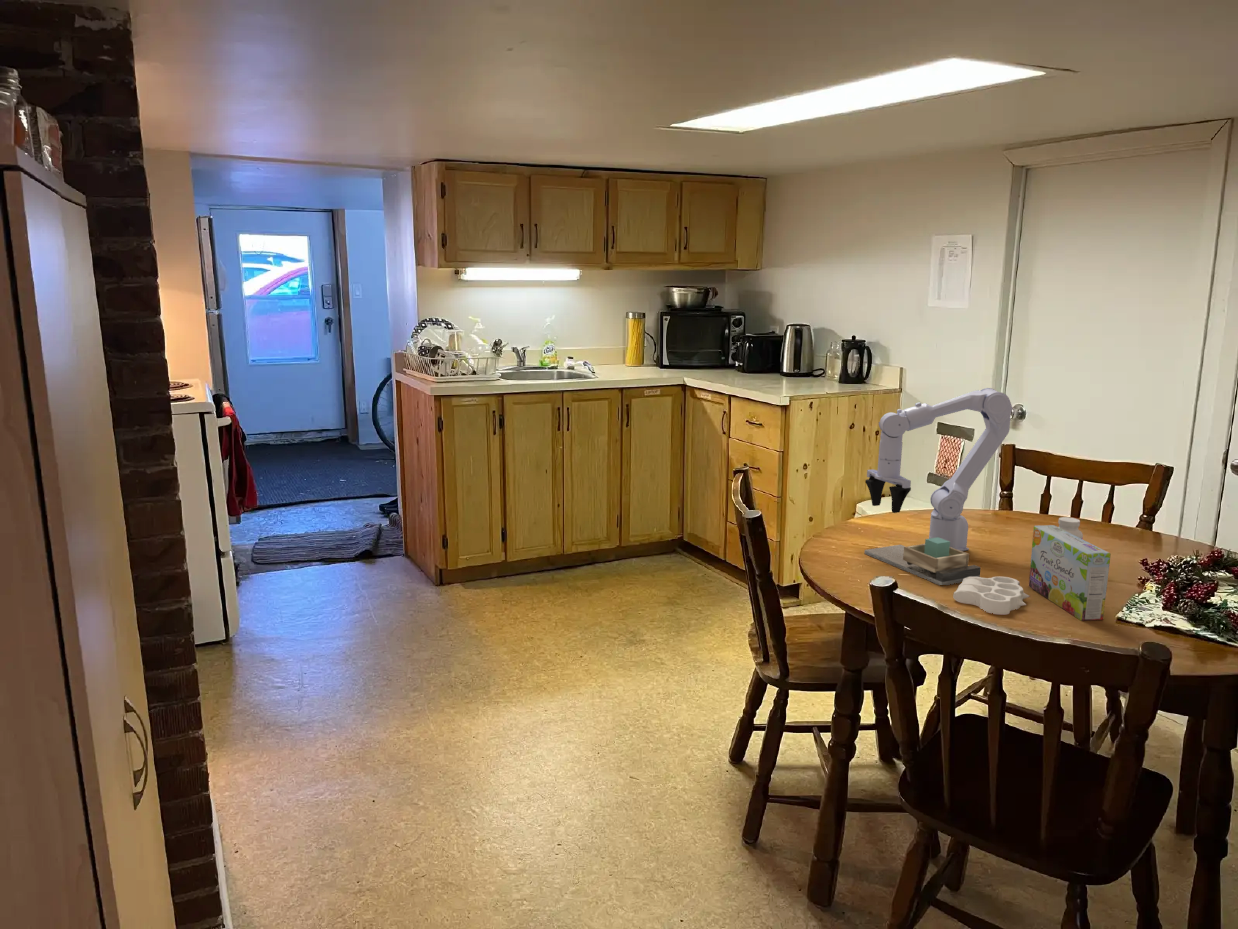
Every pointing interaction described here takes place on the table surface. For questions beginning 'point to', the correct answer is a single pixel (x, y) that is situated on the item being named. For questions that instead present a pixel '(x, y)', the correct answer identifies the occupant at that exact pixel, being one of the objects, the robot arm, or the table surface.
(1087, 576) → the snack box
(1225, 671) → the table surface
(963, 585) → the white paw tray
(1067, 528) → the supplement bottle
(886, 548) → the rail board
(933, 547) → the block
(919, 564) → the brown open box
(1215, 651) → the table surface
